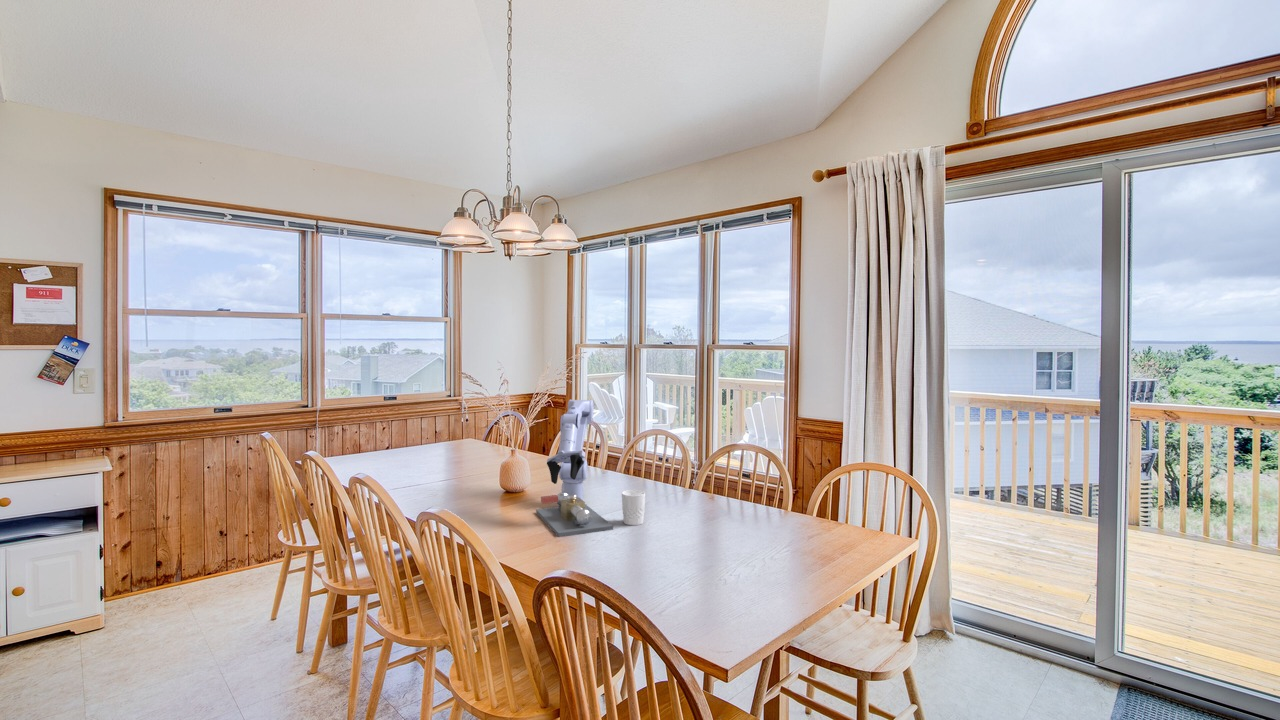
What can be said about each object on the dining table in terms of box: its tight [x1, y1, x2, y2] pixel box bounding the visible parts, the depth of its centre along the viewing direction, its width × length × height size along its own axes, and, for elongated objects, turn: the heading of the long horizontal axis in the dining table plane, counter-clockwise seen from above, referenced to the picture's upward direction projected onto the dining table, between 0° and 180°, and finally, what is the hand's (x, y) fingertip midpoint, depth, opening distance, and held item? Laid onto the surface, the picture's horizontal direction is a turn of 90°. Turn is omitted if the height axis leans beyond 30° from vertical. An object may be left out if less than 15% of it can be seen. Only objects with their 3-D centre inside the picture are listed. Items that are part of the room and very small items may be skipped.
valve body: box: [555, 491, 592, 526], centre depth 194 cm, size 25×6×6 cm, turn 24°
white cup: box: [621, 489, 646, 526], centre depth 193 cm, size 8×8×10 cm
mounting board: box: [535, 503, 614, 538], centre depth 195 cm, size 28×18×1 cm, turn 24°
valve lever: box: [540, 494, 577, 504], centre depth 192 cm, size 12×3×2 cm, turn 114°
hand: (563, 480), depth 192 cm, fingers open, 7 cm apart
